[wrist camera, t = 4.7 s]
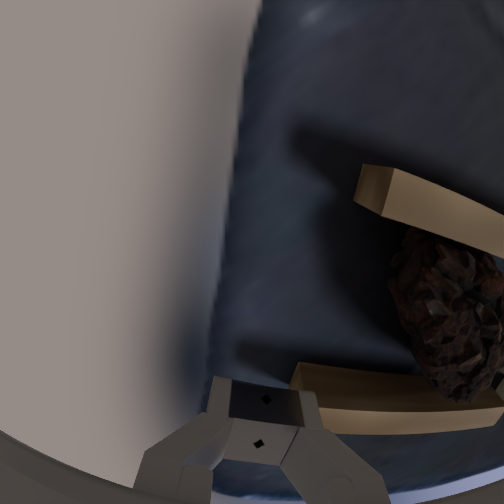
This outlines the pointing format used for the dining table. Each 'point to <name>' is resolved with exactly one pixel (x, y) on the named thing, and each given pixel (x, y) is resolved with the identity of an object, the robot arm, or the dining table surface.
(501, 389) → the frame
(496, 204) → the dining table surface
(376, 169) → the oak channel
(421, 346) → the dark piece
